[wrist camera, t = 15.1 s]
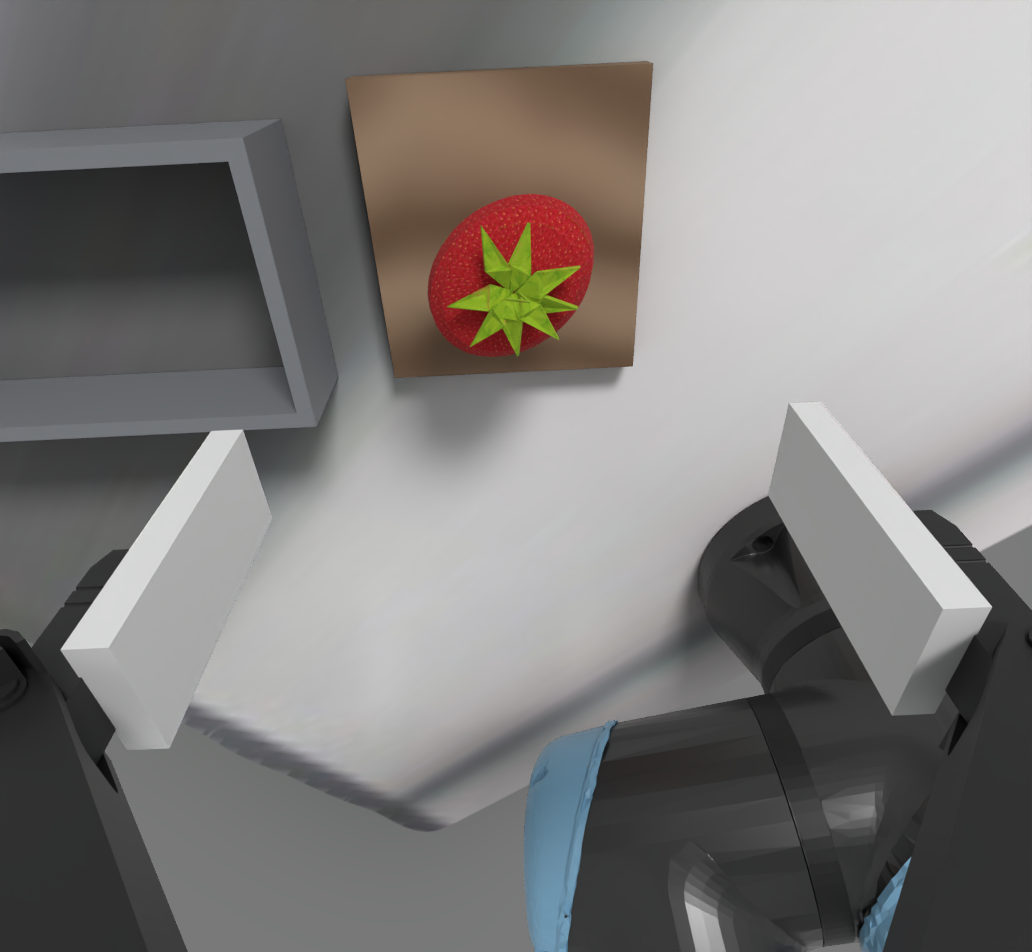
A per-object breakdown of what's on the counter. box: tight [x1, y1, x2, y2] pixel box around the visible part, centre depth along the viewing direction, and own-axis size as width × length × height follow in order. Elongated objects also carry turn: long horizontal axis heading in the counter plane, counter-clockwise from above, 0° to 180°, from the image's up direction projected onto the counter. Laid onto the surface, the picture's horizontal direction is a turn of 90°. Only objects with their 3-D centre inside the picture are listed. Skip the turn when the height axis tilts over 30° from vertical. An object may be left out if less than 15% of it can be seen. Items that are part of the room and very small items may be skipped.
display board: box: [345, 61, 653, 378], centre depth 32 cm, size 14×13×2 cm
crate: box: [0, 119, 338, 442], centre depth 31 cm, size 13×22×6 cm, turn 92°
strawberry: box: [427, 194, 594, 357], centre depth 28 cm, size 6×8×10 cm
